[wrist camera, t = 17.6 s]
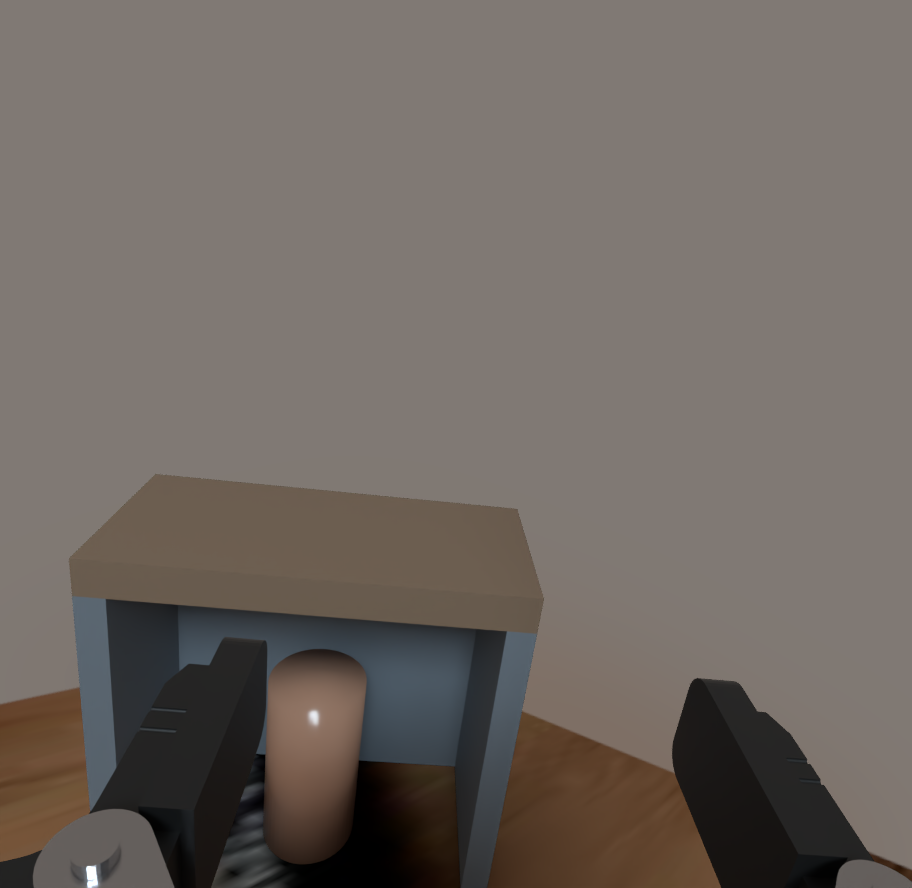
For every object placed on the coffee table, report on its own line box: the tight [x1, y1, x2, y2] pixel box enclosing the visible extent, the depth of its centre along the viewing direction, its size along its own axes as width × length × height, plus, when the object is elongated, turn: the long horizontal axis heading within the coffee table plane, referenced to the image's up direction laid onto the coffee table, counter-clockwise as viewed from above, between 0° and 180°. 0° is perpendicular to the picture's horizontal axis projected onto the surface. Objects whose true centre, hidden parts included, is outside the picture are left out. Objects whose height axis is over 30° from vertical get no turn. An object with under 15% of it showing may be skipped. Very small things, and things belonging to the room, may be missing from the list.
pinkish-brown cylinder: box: [263, 649, 367, 864], centre depth 39 cm, size 6×6×11 cm
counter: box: [69, 474, 544, 888], centre depth 38 cm, size 22×10×20 cm, turn 92°
